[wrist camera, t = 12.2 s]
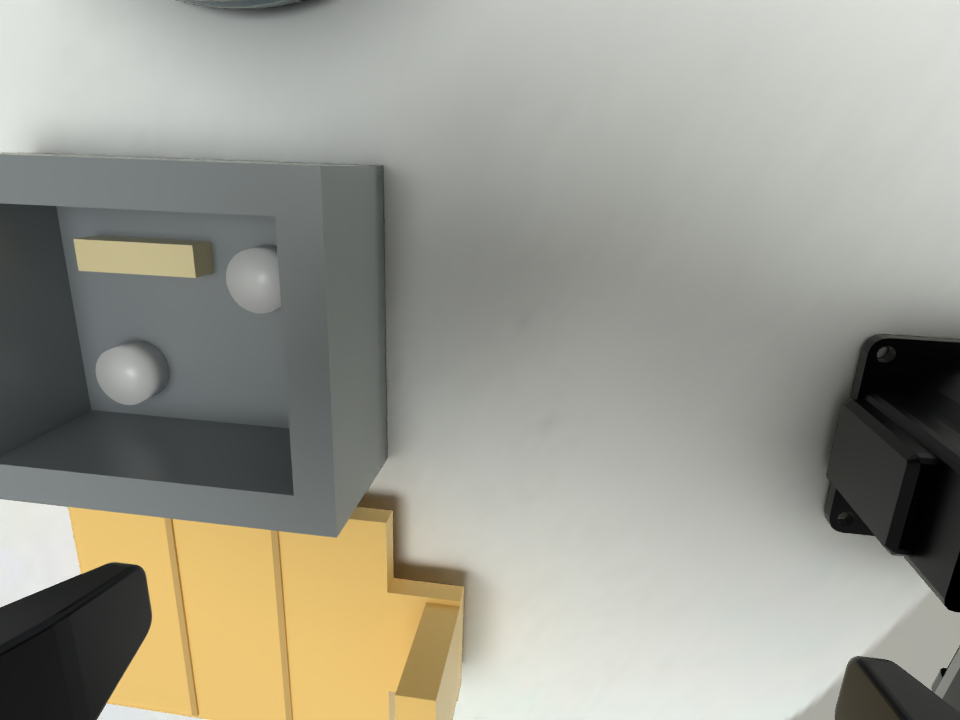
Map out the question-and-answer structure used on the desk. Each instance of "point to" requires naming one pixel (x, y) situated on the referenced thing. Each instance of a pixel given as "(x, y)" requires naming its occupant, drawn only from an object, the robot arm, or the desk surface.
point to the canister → (241, 3)
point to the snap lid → (280, 621)
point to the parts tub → (192, 337)
